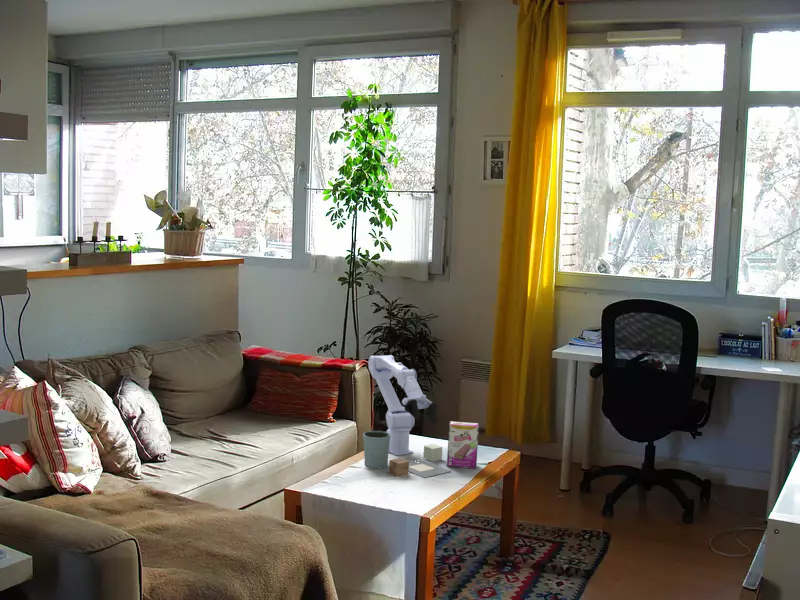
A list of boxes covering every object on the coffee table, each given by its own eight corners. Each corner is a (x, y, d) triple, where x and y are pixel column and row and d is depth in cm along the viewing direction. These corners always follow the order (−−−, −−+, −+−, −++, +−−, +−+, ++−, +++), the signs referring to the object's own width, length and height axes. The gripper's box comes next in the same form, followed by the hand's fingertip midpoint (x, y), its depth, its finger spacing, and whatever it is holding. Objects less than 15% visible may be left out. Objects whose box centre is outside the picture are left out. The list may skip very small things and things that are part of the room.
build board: (392, 465, 318) (392, 464, 318) (418, 459, 326) (418, 458, 326) (424, 478, 304) (424, 477, 304) (450, 471, 313) (451, 470, 313)
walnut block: (388, 473, 309) (389, 459, 308) (399, 471, 312) (399, 457, 311) (397, 477, 305) (398, 463, 304) (408, 474, 308) (408, 461, 307)
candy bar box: (446, 467, 318) (448, 424, 317) (447, 463, 323) (449, 420, 322) (476, 469, 317) (478, 426, 316) (476, 465, 322) (478, 422, 321)
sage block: (423, 458, 329) (424, 445, 328) (433, 456, 332) (433, 443, 331) (432, 461, 325) (432, 448, 324) (441, 459, 328) (442, 447, 328)
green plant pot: (380, 471, 310) (381, 439, 309) (356, 466, 315) (357, 434, 314) (394, 464, 319) (395, 433, 318) (371, 459, 324) (372, 428, 323)
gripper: (404, 383, 317) (416, 409, 307) (435, 389, 325) (447, 415, 315) (395, 396, 320) (407, 423, 310) (425, 402, 328) (438, 428, 318)
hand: (427, 420), depth 313 cm, fingers open, 7 cm apart
